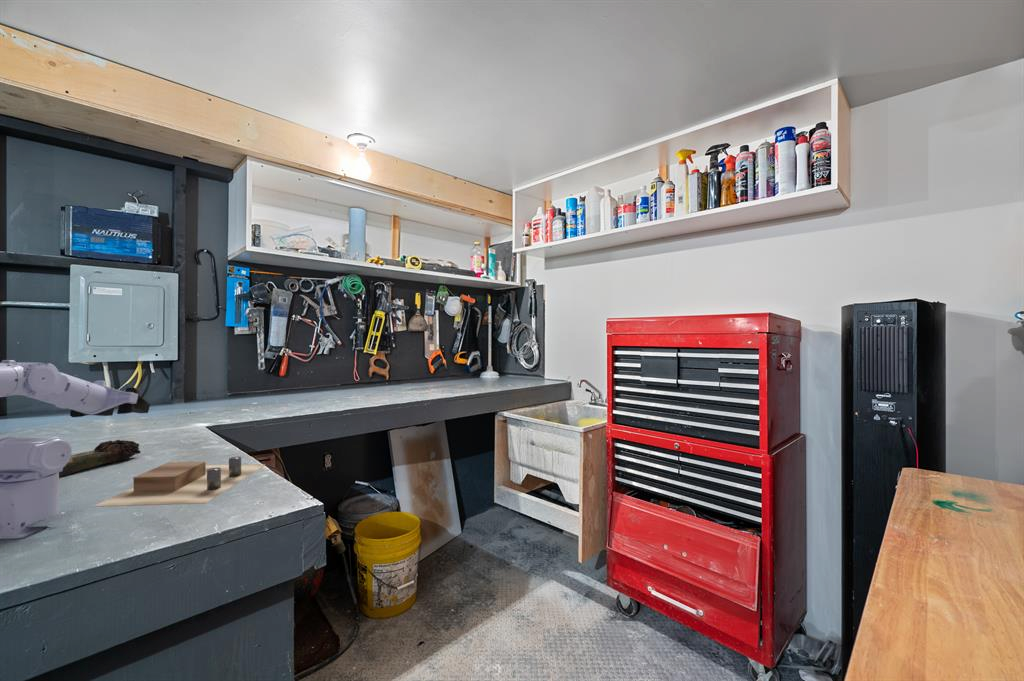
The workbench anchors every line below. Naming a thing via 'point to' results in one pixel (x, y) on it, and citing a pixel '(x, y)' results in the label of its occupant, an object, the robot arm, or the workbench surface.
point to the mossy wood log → (101, 456)
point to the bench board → (190, 487)
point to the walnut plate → (169, 476)
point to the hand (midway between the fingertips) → (129, 409)
